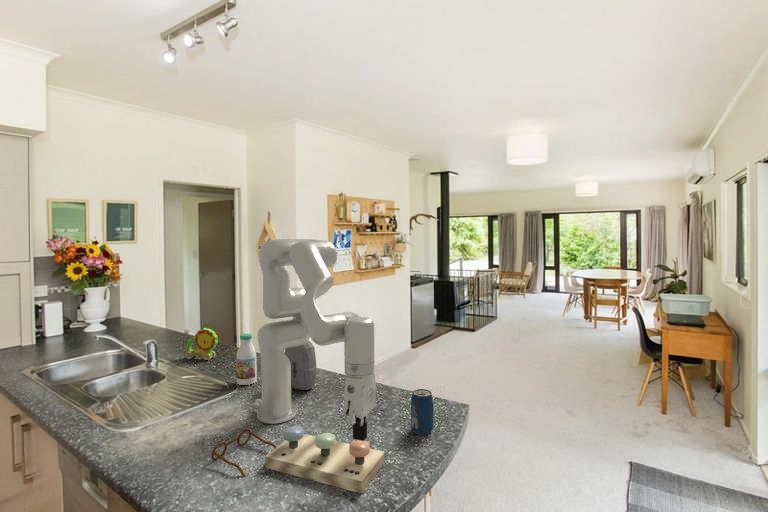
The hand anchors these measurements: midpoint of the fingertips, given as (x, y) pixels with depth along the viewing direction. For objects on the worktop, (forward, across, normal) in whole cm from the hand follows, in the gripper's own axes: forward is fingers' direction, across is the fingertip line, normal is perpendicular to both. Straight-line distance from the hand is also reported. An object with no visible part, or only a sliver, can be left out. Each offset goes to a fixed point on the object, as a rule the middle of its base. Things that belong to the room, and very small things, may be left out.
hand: (360, 438), depth 102 cm
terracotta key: (+4, 0, 0) cm, 4 cm away
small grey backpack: (+9, +42, +47) cm, 64 cm away
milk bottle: (+9, +39, +70) cm, 81 cm away
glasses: (+10, -5, +32) cm, 34 cm away
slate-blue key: (+3, 0, +20) cm, 20 cm away
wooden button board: (+9, 0, +10) cm, 14 cm away
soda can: (+10, +28, -8) cm, 31 cm away
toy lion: (+9, +56, +112) cm, 126 cm away
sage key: (+3, 0, +10) cm, 11 cm away
